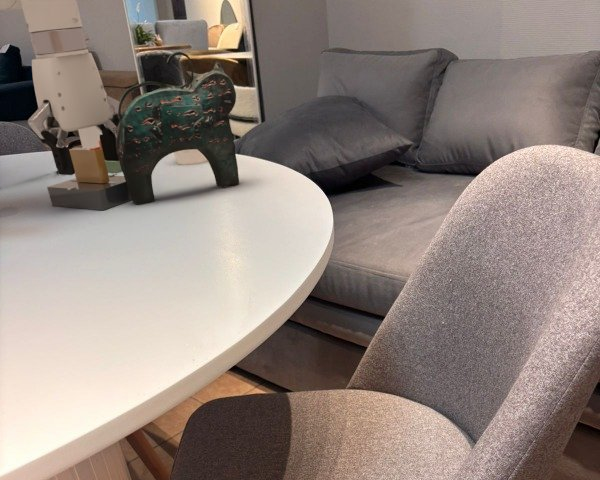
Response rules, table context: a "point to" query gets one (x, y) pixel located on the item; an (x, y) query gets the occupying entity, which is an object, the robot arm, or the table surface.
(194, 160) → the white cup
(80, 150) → the yellow rectangular block
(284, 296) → the table surface
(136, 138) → the ceramic cat
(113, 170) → the dispenser
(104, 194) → the base
